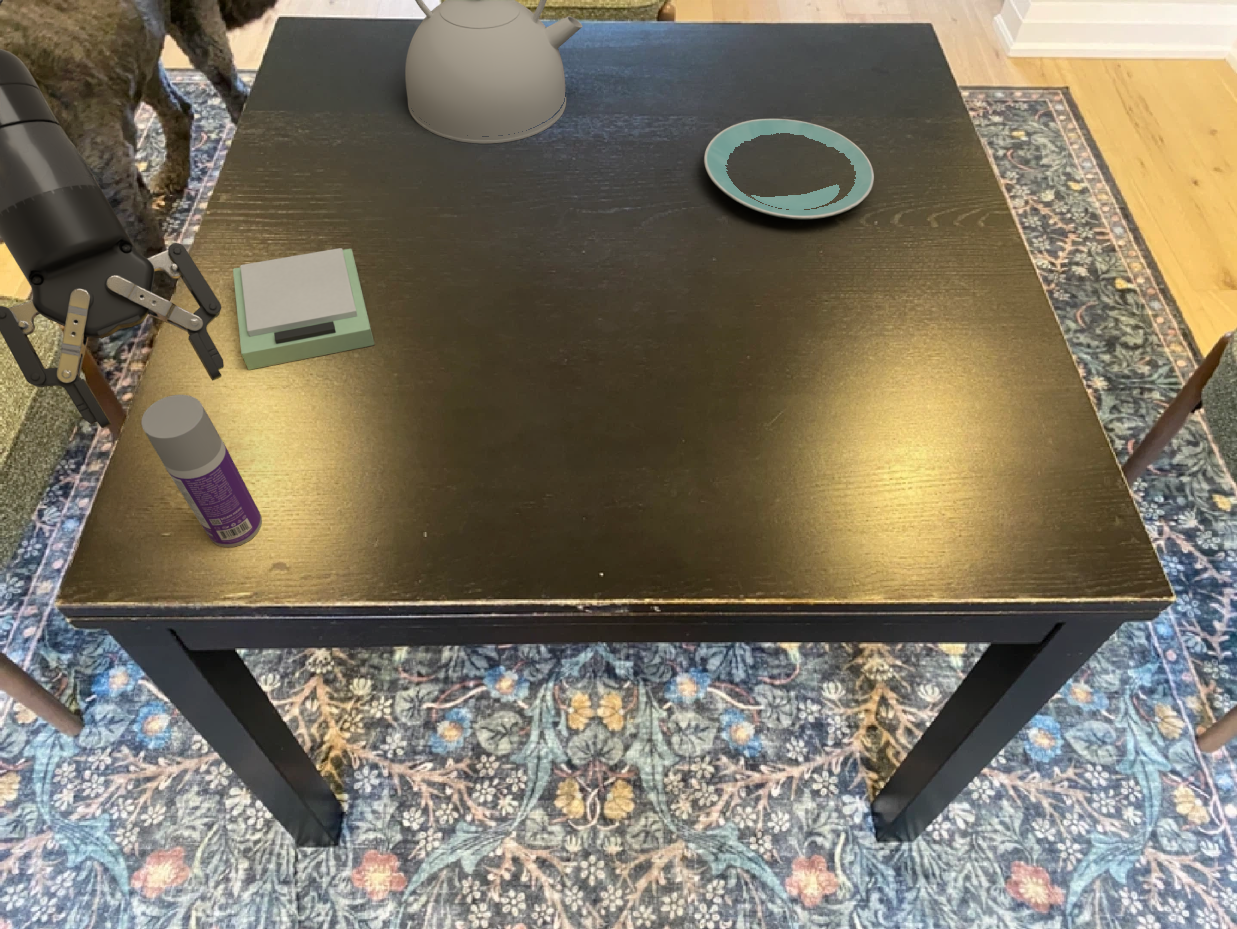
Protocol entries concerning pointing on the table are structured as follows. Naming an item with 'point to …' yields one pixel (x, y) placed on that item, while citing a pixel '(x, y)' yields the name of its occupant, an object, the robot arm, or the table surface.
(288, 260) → the scale
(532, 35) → the kettle
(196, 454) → the container
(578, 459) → the table surface
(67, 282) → the robot arm
